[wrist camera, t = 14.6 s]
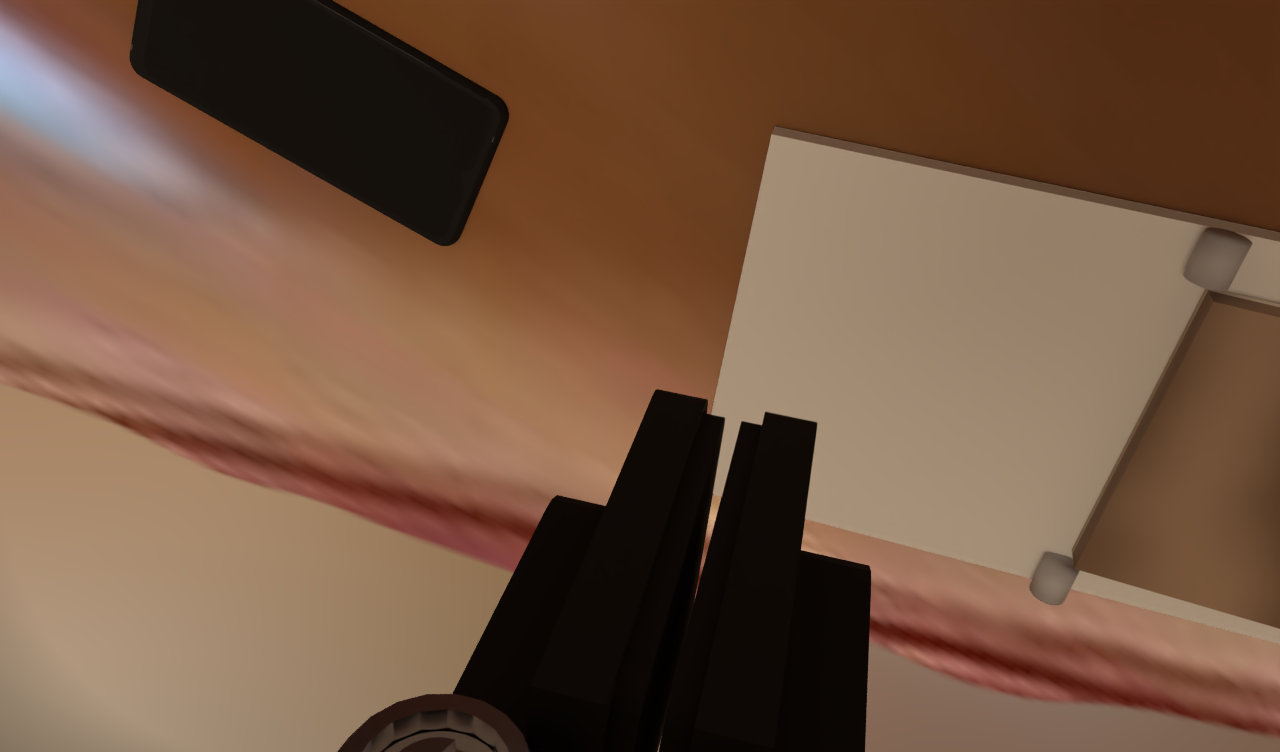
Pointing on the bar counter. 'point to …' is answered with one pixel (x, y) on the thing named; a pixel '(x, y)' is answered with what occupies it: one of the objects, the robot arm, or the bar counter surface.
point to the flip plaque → (1201, 471)
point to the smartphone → (331, 100)
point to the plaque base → (968, 348)
